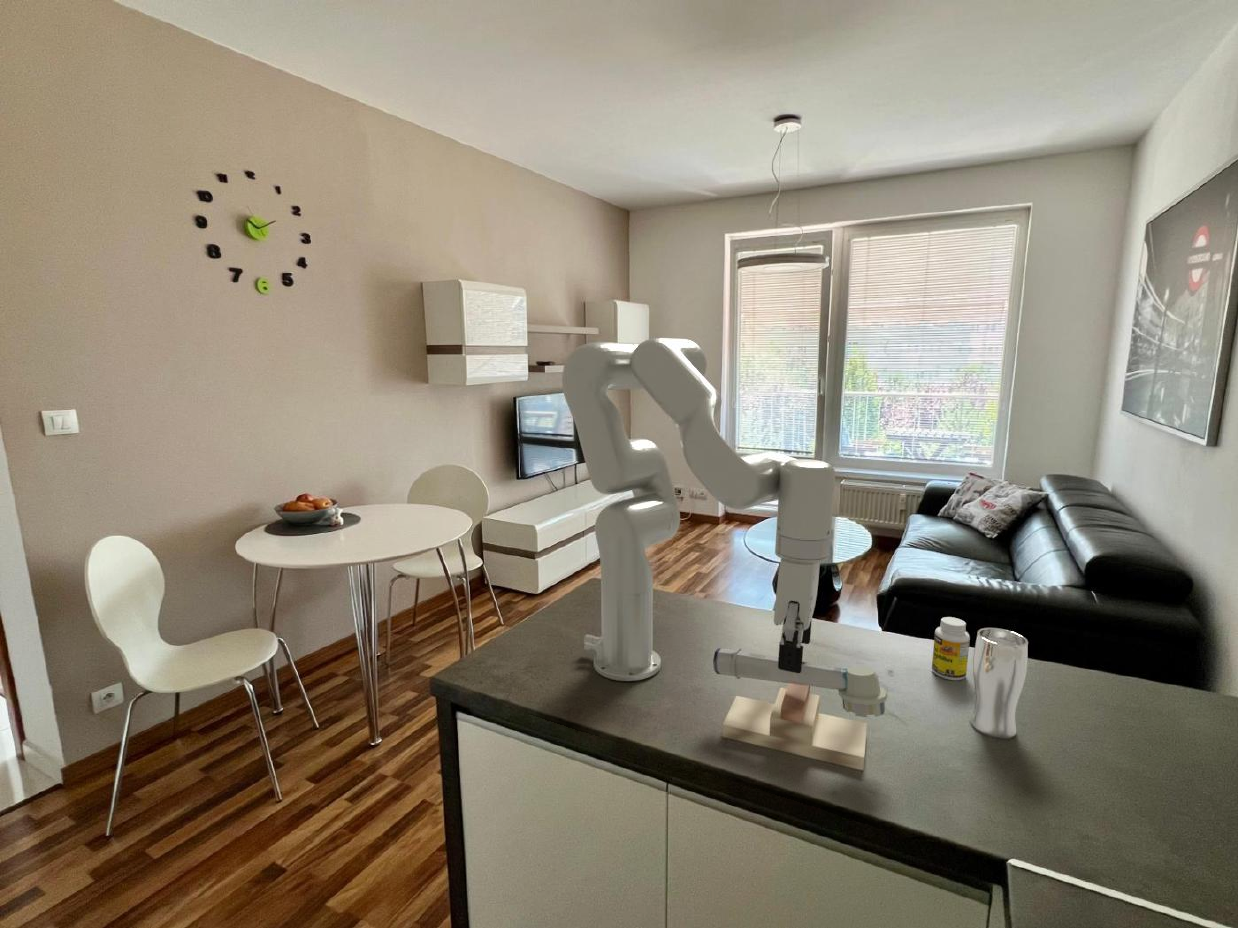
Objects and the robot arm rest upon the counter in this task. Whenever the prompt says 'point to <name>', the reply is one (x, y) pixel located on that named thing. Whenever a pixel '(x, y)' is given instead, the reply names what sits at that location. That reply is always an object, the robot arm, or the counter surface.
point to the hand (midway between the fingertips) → (794, 655)
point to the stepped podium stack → (797, 727)
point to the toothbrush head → (809, 678)
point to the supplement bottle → (951, 649)
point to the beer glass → (998, 680)
